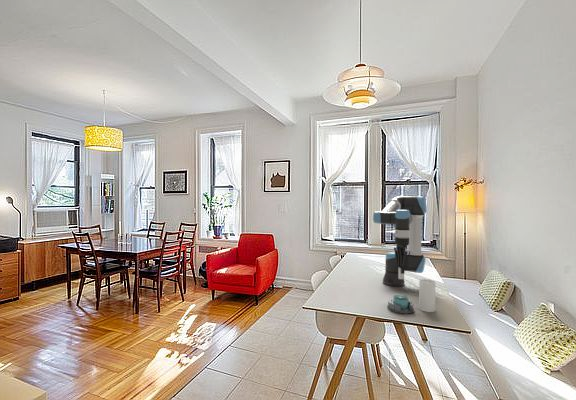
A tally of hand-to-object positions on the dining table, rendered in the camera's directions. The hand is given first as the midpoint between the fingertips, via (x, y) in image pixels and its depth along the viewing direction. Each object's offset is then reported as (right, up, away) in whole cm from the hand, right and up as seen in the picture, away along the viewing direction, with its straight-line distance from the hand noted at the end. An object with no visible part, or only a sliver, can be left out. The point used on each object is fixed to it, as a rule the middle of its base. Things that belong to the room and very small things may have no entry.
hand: (401, 278), depth 162 cm
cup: (+15, -18, 0) cm, 23 cm away
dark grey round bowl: (0, -17, 0) cm, 17 cm away
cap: (0, -16, 0) cm, 16 cm away
